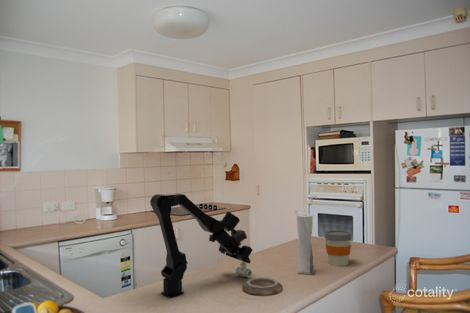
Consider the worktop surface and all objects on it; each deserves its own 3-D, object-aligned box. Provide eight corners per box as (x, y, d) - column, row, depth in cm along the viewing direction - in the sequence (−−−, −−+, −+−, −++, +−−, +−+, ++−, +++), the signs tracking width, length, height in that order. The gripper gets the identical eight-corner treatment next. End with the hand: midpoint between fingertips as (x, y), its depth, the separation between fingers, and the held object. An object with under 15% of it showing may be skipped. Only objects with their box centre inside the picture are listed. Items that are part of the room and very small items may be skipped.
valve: (242, 273, 172) (242, 247, 172) (254, 276, 168) (253, 249, 168) (233, 277, 167) (232, 250, 167) (245, 280, 163) (244, 252, 163)
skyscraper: (294, 273, 171) (293, 211, 171) (298, 268, 179) (296, 209, 179) (313, 275, 168) (312, 212, 168) (316, 270, 176) (315, 209, 176)
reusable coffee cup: (342, 268, 177) (341, 236, 177) (320, 263, 187) (319, 232, 187) (356, 263, 185) (356, 232, 185) (334, 258, 195) (334, 229, 195)
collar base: (264, 299, 141) (264, 292, 141) (234, 289, 152) (234, 282, 152) (290, 288, 152) (290, 281, 152) (260, 279, 164) (260, 273, 164)
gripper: (248, 228, 158) (269, 250, 164) (224, 222, 173) (243, 243, 180) (233, 249, 153) (255, 272, 160) (209, 241, 169) (230, 262, 175)
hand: (246, 261), depth 169 cm, fingers closed on valve, 5 cm apart
